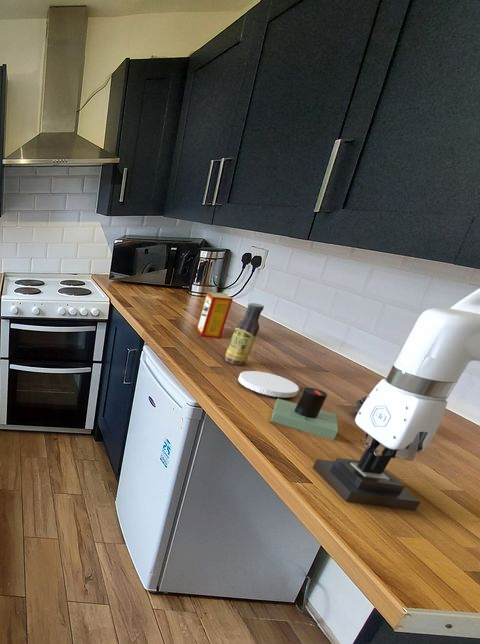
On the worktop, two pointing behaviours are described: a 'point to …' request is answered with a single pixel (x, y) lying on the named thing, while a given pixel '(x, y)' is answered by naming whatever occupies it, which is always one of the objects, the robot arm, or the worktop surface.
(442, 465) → the worktop surface
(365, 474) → the key
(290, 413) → the volume panel
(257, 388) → the plastic lid
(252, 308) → the sauce bottle
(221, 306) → the baking soda box
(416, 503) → the tiered square pedestal
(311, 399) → the dial
